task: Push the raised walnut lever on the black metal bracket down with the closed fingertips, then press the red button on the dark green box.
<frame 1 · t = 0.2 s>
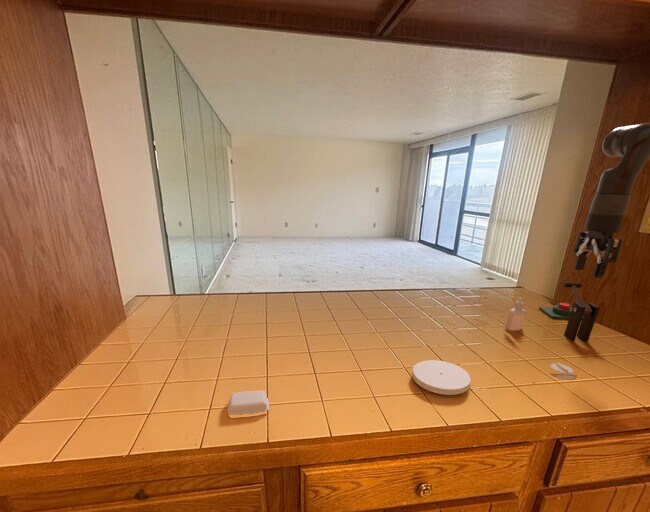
hand: (587, 273, 96), 24 cm above the worktop, tool pointing down, fingers open, 8 cm apart
bracket: (574, 341, 112), on the worktop
eye dropper bottle: (512, 331, 119), on the worktop
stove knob: (560, 373, 94), on the worktop
button: (564, 306, 130), point 5 cm above the worktop, slide at 0.1 cm
soap: (248, 408, 77), on the worktop
lever: (578, 298, 111), point 13 cm above the worktop, hinge at 28.0°
plastic lid: (439, 382, 88), on the worktop
button box: (560, 317, 131), on the worktop
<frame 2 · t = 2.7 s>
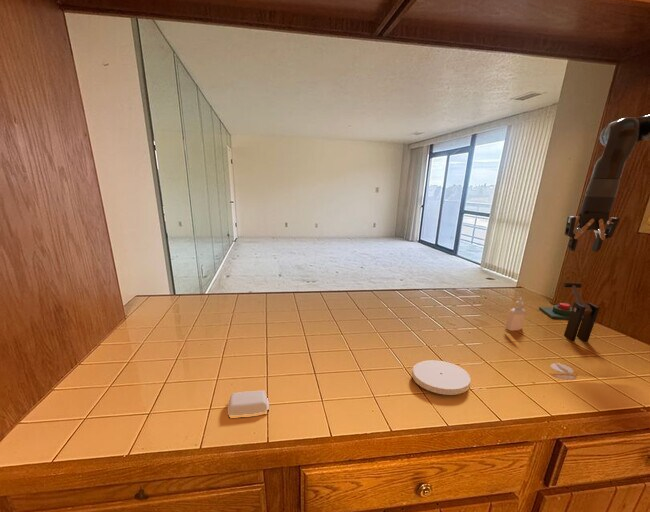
hand: (583, 250, 110), 28 cm above the worktop, tool pointing down, fingers open, 6 cm apart
nothing on the worktop moved.
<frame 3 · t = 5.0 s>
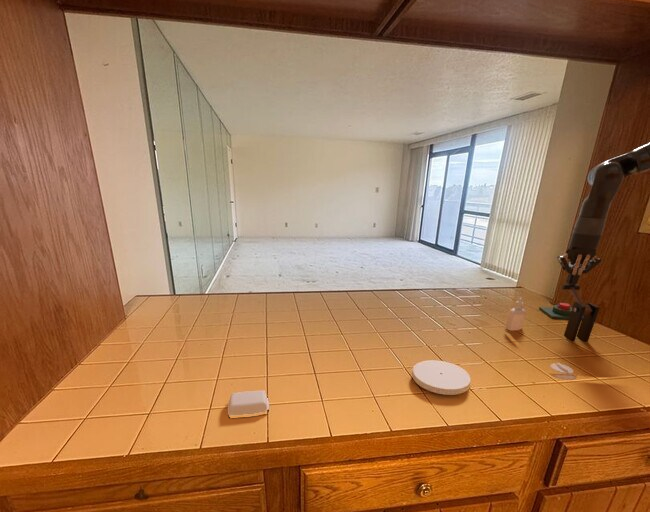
hand: (570, 285, 115), 16 cm above the worktop, tool pointing down, fingers closed
lever: (578, 299, 111), point 13 cm above the worktop, hinge at 22.9°, touching gripper
everything else where it was.
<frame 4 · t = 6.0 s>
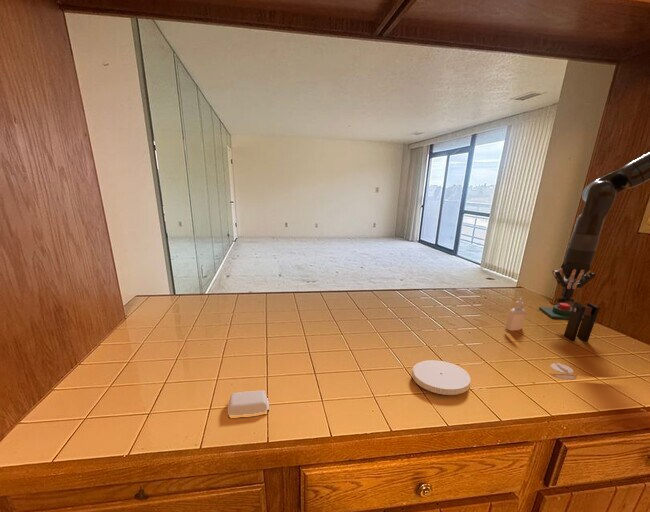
hand: (565, 298, 117), 11 cm above the worktop, tool pointing down, fingers closed
lever: (575, 305, 112), point 11 cm above the worktop, hinge at -3.4°, touching gripper
everything else where it was.
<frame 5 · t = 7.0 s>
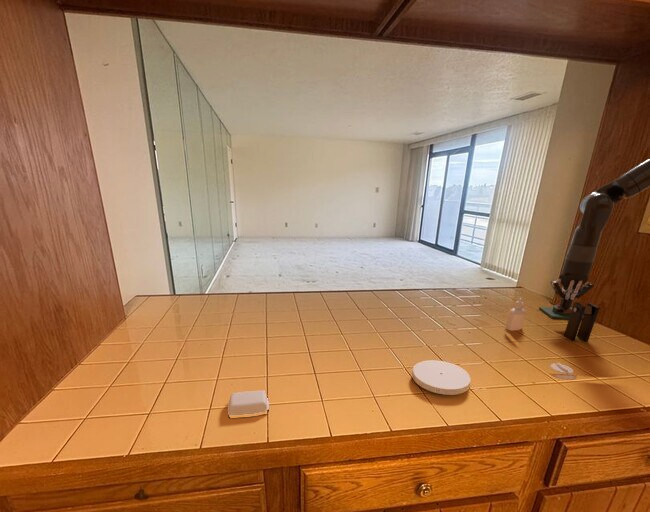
hand: (564, 308, 118), 8 cm above the worktop, tool pointing down, fingers closed
lever: (574, 310, 113), point 9 cm above the worktop, hinge at -22.5°, touching gripper
everything else where it was.
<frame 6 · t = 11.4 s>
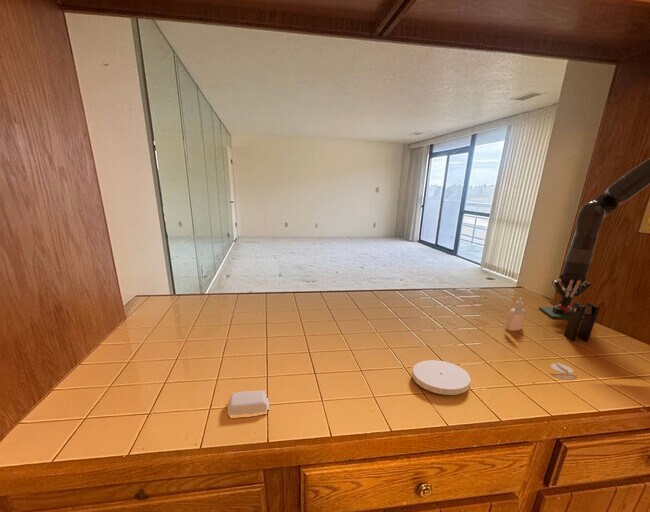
hand: (564, 305, 130), 5 cm above the worktop, tool pointing down, fingers closed
button: (563, 308, 130), point 4 cm above the worktop, slide at -0.5 cm, touching gripper
lever: (574, 310, 113), point 9 cm above the worktop, hinge at -22.6°
everything else where it was.
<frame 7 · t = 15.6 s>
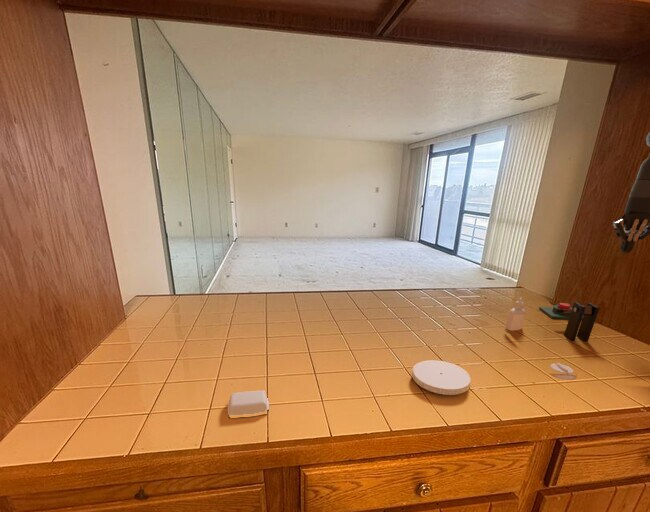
hand: (625, 252, 112), 27 cm above the worktop, tool pointing down, fingers closed
button: (564, 306, 130), point 5 cm above the worktop, slide at 0.1 cm
everything else where it was.
at the end: lever at -23° (first picture: +28°); button pushed in 1.1 cm at the most during the clip, back to where it started at the end; button slide at 0.1 cm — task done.
